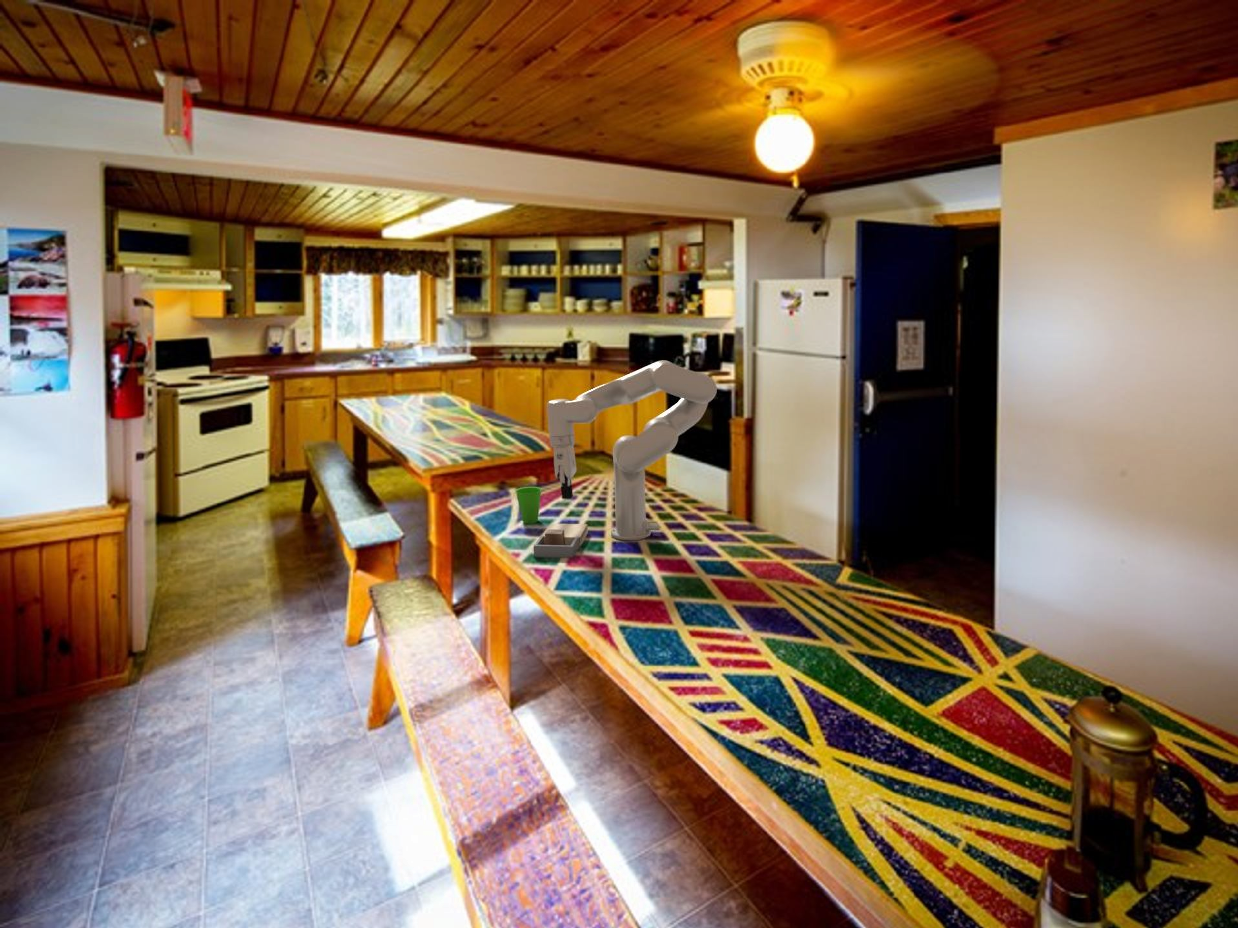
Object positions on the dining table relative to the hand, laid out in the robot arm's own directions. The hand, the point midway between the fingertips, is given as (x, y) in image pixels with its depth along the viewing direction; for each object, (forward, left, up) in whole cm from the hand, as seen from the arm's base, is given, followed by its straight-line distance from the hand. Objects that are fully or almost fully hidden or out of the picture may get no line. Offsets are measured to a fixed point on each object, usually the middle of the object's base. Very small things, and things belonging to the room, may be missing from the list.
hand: (567, 497), depth 223 cm
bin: (+1, +13, -13) cm, 19 cm away
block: (+2, +9, -10) cm, 14 cm away
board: (+1, +2, -13) cm, 13 cm away
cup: (+17, -16, -13) cm, 27 cm away
